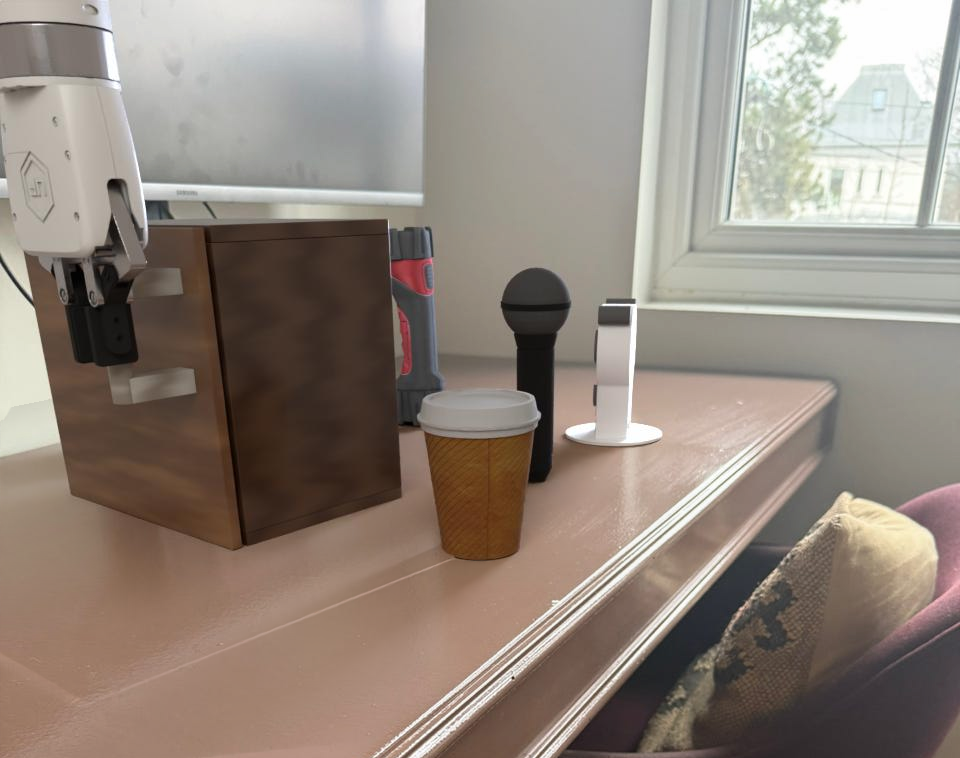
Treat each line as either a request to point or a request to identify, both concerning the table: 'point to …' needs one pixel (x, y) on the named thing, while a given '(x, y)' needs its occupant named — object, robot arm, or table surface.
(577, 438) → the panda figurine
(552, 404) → the microphone
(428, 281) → the flashlight
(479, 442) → the disposable coffee cup
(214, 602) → the table surface
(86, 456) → the cupboard door
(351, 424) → the cupboard
